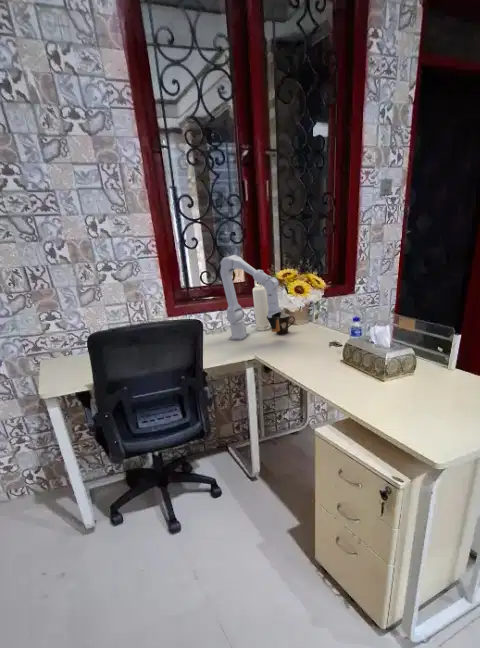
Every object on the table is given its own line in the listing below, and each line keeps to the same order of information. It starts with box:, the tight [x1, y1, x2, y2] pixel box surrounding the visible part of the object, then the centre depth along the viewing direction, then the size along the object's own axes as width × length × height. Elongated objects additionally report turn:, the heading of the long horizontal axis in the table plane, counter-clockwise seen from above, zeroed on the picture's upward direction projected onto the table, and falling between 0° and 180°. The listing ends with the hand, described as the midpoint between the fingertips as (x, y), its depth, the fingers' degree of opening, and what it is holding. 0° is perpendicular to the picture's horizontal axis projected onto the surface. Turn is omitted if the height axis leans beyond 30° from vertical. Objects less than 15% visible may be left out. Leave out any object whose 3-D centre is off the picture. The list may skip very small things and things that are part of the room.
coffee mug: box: [276, 313, 296, 336], centre depth 236 cm, size 12×9×10 cm
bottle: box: [252, 280, 271, 331], centre depth 243 cm, size 8×8×28 cm
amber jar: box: [270, 316, 280, 333], centre depth 224 cm, size 5×5×8 cm
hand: (275, 327), depth 224 cm, fingers closed on amber jar, 4 cm apart
